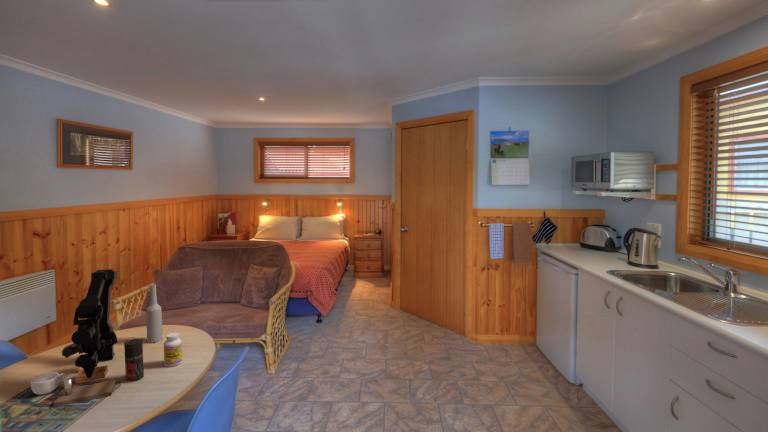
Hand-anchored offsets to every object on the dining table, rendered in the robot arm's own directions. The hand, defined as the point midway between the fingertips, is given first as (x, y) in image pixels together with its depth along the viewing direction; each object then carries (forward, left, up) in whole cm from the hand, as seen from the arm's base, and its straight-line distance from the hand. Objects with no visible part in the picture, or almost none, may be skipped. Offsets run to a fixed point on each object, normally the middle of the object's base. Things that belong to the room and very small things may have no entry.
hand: (92, 372), depth 145 cm
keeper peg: (+4, +14, 0) cm, 15 cm away
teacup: (+12, +4, -2) cm, 13 cm away
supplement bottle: (-28, +1, -2) cm, 28 cm away
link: (0, 0, -2) cm, 2 cm away
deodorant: (-15, +8, -2) cm, 17 cm away
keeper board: (-1, +14, -2) cm, 14 cm away
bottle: (-19, -29, -2) cm, 35 cm away
